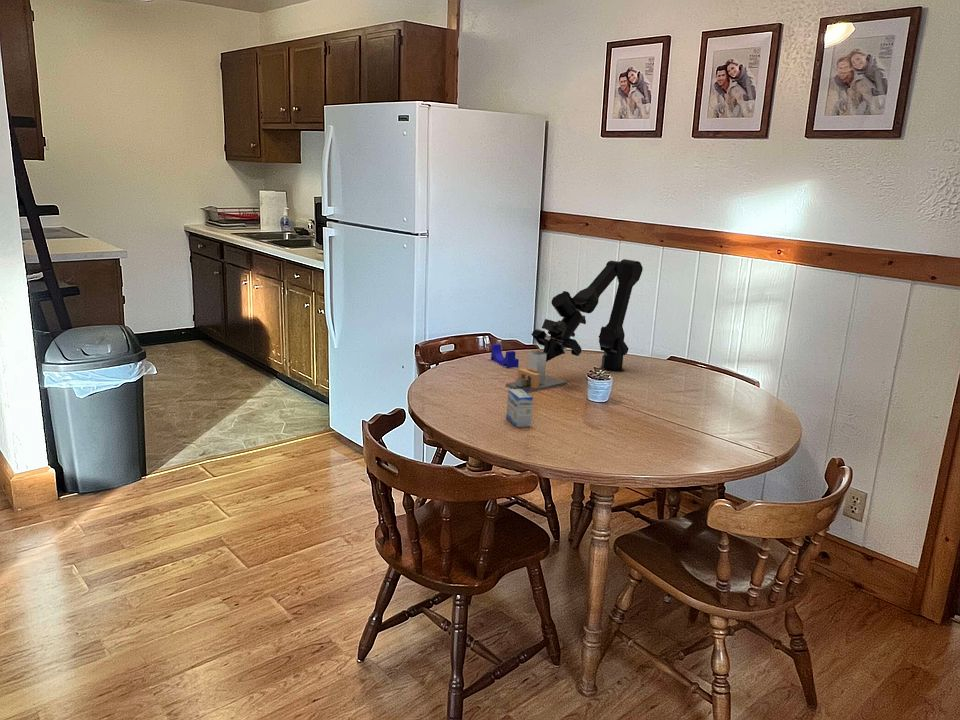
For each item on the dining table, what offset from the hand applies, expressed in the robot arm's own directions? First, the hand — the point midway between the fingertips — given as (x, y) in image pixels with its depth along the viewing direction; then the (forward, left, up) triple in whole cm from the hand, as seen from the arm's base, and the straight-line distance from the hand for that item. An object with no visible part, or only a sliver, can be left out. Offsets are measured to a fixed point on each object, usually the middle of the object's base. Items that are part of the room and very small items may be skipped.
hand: (542, 362), depth 244 cm
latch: (+5, +3, -7) cm, 8 cm away
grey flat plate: (+2, +1, -8) cm, 8 cm away
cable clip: (+7, -26, -8) cm, 28 cm away
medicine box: (+16, +36, -8) cm, 40 cm away
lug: (+5, +3, -7) cm, 9 cm away
